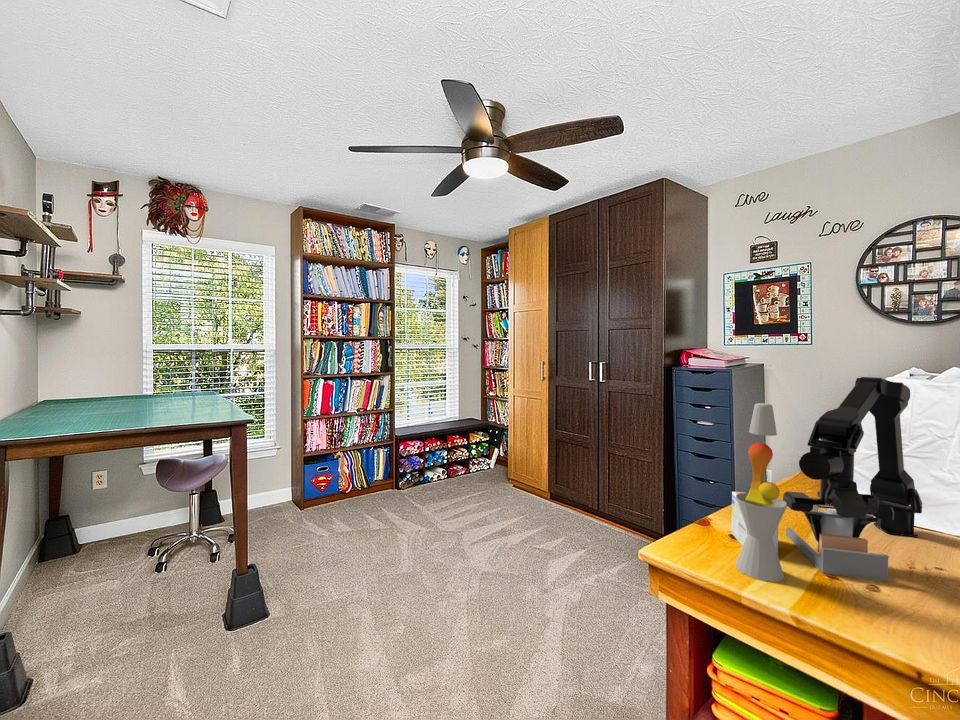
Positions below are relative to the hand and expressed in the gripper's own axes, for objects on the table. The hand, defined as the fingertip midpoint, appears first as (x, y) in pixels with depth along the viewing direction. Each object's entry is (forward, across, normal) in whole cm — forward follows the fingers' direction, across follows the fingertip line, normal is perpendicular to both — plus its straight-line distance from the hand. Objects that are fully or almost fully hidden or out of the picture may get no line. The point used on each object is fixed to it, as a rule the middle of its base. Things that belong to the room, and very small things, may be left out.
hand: (834, 543), depth 98 cm
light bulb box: (+4, -15, +4) cm, 16 cm away
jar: (+2, 0, 0) cm, 2 cm away
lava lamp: (+4, -18, -12) cm, 22 cm away
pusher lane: (+3, 0, +2) cm, 4 cm away
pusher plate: (+3, 0, -4) cm, 5 cm away
